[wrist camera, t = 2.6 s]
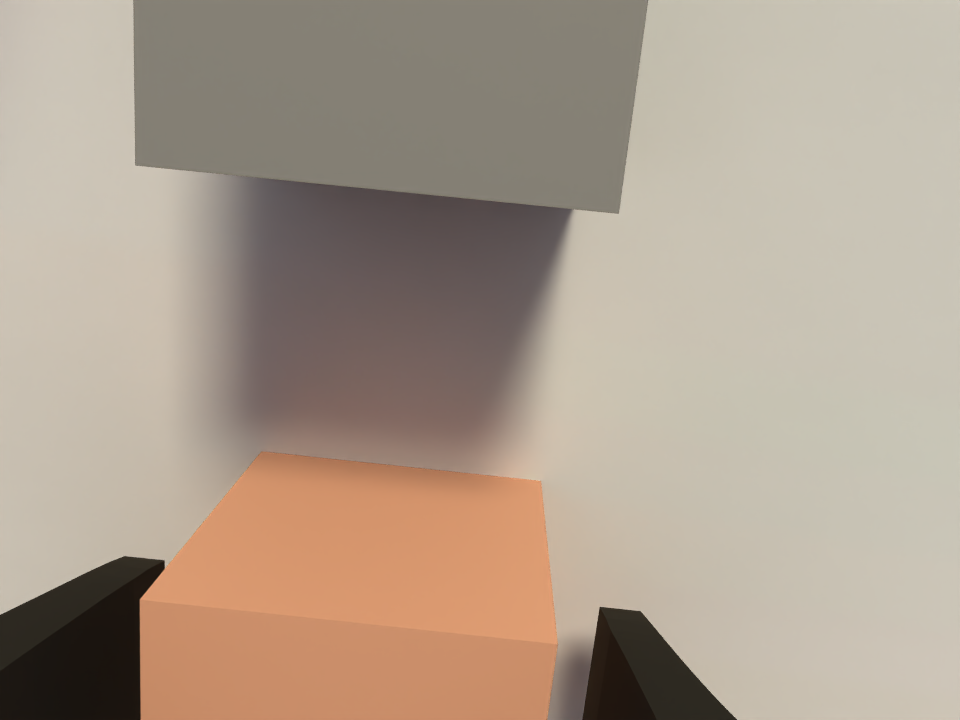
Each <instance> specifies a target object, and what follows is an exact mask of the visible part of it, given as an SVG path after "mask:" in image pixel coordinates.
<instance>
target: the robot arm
mask: <svg viewBox="0 0 960 720" xmlns="http://www.w3.org/2000/svg"><path fill="white" fill-rule="evenodd" d="M164 570H165V561H164V560H155V559H146V558H136V557H127V556H124V557H122V558H119V559H116V560H114V561H111V562H109V563H107V564H104V565H102V566H100V567H98V568H96V569H94V570H91V571H89V572H87V573H85V574H83V575H81V576H79V577H77V578H75V579H73V580H71V581H69V582H67V583H65V584H63V585H61V586H59V587H57V588H55V589H53V590H50V591H48V592H46V593H44V594H42V595H40V596H38V597H36V598H34V599H32V600H30V601H28V602H26V603H24V604H22V605H20V606H18V607H16V608H14V609H11V610H9V611H7V612H5V613H3V614H1V615H0V720H141V691H140V599H141V597H142V596H143V595H144V594H145V593H146V591H147V590H148V589H149V588H150V587H151V585H152V584H153V583H154V582H155V580H156V579H157V578H158V577H159V576H160V574H161V573H162V572H163V571H164ZM583 720H737V719H736V718H735V717H734V716H733V715H732V714H731V713H730V712H729V711H728V710H727V709H726V708H725V707H724V706H723V705H722V704H721V703H720V702H719V701H718V700H717V699H716V698H715V697H714V696H713V695H712V693H711V692H710V691H709V690H708V689H707V688H706V687H705V686H704V685H703V684H702V683H701V681H700V680H699V679H698V678H697V677H696V676H695V675H694V674H693V672H692V671H691V670H690V669H689V668H688V667H687V666H686V664H685V663H684V662H683V661H682V660H681V659H680V658H679V656H678V655H677V654H676V653H675V652H674V650H673V649H672V648H671V647H670V646H669V645H668V643H667V642H666V641H665V640H664V639H663V637H662V636H661V635H660V634H659V633H658V631H657V630H656V629H655V628H654V627H653V625H652V624H651V623H650V622H649V621H648V619H647V618H646V617H645V616H644V615H643V614H642V613H641V611H633V610H623V609H614V608H605V607H600V609H599V615H598V622H597V628H596V635H595V641H594V648H593V654H592V661H591V667H590V674H589V680H588V687H587V694H586V700H585V707H584V713H583Z"/></svg>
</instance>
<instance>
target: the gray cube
mask: <svg viewBox="0 0 960 720" xmlns="http://www.w3.org/2000/svg"><path fill="white" fill-rule="evenodd" d="M647 5H648V0H133V6H134V93H135V165H136V166H146V167H156V168H166V169H176V170H186V171H196V172H206V173H216V174H226V175H236V176H246V177H256V178H266V179H276V180H286V181H296V182H306V183H316V184H326V185H336V186H346V187H356V188H366V189H376V190H386V191H397V192H407V193H417V194H427V195H437V196H447V197H457V198H467V199H477V200H487V201H497V202H507V203H517V204H527V205H537V206H547V207H557V208H567V209H577V210H587V211H597V212H607V213H617V214H619V208H620V201H621V194H622V186H623V179H624V172H625V165H626V157H627V150H628V143H629V136H630V128H631V121H632V114H633V107H634V99H635V92H636V85H637V78H638V70H639V63H640V56H641V49H642V41H643V34H644V27H645V20H646V12H647Z"/></svg>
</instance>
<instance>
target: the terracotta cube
mask: <svg viewBox="0 0 960 720" xmlns="http://www.w3.org/2000/svg"><path fill="white" fill-rule="evenodd" d="M557 646H558V642H557V632H556V623H555V613H554V603H553V594H552V584H551V574H550V565H549V555H548V545H547V536H546V526H545V516H544V507H543V497H542V487H541V481H536V480H526V479H517V478H507V477H498V476H489V475H479V474H470V473H460V472H451V471H441V470H432V469H422V468H413V467H403V466H394V465H385V464H375V463H366V462H356V461H347V460H337V459H328V458H318V457H309V456H299V455H290V454H281V453H271V452H262V451H261V453H260V454H259V455H258V456H257V458H256V459H255V460H254V461H253V462H252V464H251V465H250V466H249V467H248V469H247V470H246V471H245V472H244V473H243V475H242V476H241V477H240V478H239V479H238V481H237V482H236V483H235V484H234V486H233V487H232V488H231V489H230V490H229V492H228V493H227V494H226V495H225V497H224V498H223V499H222V500H221V501H220V503H219V504H218V505H217V506H216V507H215V509H214V510H213V511H212V512H211V514H210V515H209V516H208V517H207V518H206V520H205V521H204V522H203V523H202V524H201V526H200V527H199V528H198V529H197V531H196V532H195V533H194V534H193V535H192V537H191V538H190V539H189V540H188V542H187V543H186V544H185V545H184V546H183V548H182V549H181V550H180V551H179V552H178V554H177V555H176V556H175V557H174V559H173V560H172V561H171V562H170V563H169V565H168V566H167V567H166V568H165V570H164V571H163V572H162V573H161V574H160V576H159V577H158V578H157V579H156V580H155V582H154V583H153V584H152V585H151V587H150V588H149V589H148V590H147V591H146V593H145V594H144V595H143V596H142V597H141V599H140V691H141V720H547V717H548V710H549V703H550V696H551V688H552V681H553V674H554V667H555V660H556V653H557Z"/></svg>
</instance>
